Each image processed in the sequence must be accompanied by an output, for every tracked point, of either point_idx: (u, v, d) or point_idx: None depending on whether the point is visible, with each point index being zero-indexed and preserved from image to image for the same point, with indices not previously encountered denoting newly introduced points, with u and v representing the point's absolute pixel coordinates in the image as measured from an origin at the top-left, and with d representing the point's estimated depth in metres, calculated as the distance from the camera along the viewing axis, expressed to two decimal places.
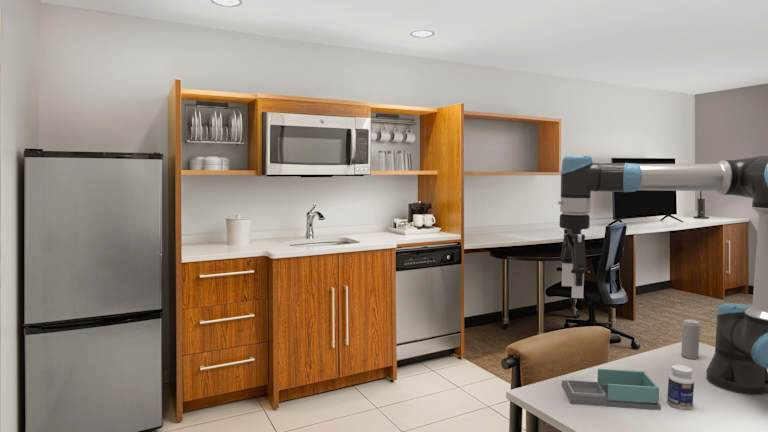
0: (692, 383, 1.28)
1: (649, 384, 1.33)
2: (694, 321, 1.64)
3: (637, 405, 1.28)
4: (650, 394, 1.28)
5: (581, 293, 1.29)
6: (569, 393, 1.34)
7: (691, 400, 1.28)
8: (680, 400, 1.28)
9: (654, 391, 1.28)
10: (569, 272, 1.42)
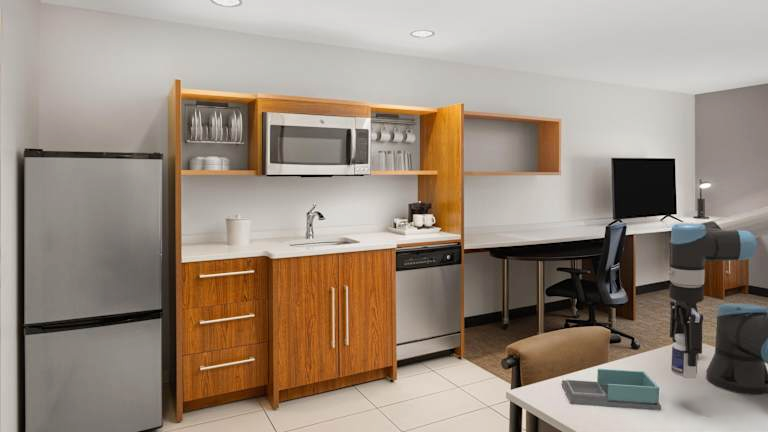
0: None
1: (649, 384, 1.33)
2: None
3: (637, 405, 1.28)
4: (650, 394, 1.28)
5: (694, 373, 1.26)
6: (569, 393, 1.34)
7: None
8: None
9: (654, 391, 1.28)
10: None
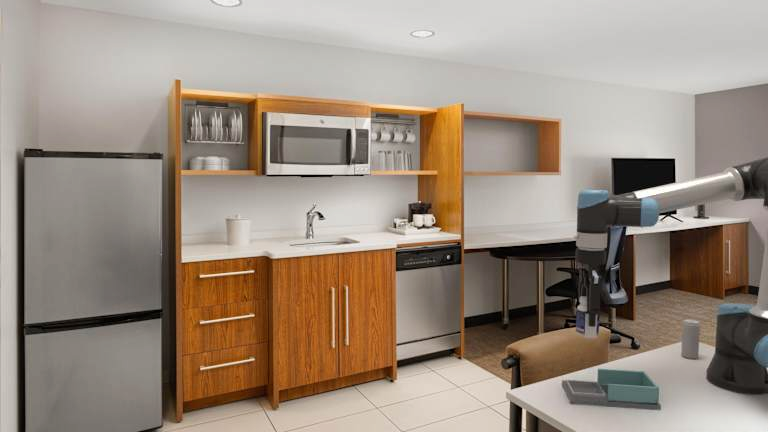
0: None
1: (649, 384, 1.33)
2: (694, 321, 1.64)
3: (637, 405, 1.28)
4: (650, 394, 1.28)
5: (594, 333, 1.31)
6: (569, 393, 1.34)
7: None
8: None
9: (654, 391, 1.28)
10: None
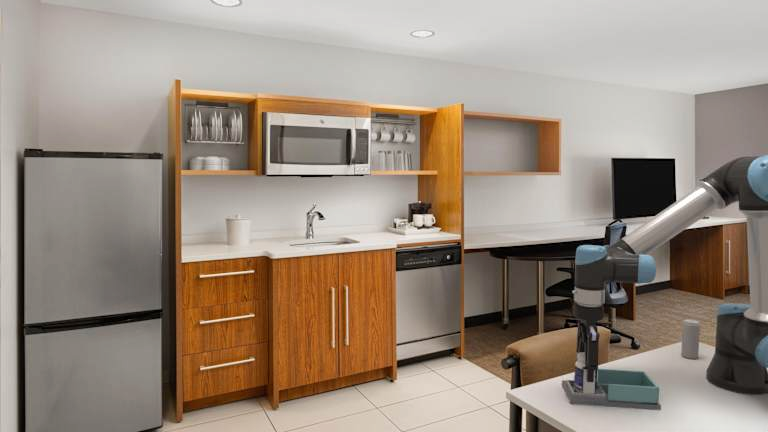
0: None
1: (649, 384, 1.33)
2: (694, 321, 1.64)
3: (637, 405, 1.28)
4: (650, 394, 1.28)
5: (592, 388, 1.32)
6: (569, 393, 1.34)
7: None
8: None
9: (654, 391, 1.28)
10: None
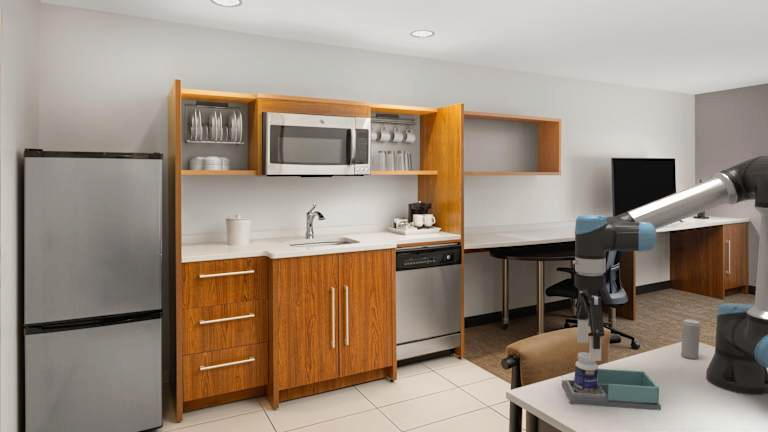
0: (595, 369, 1.33)
1: (649, 384, 1.33)
2: (694, 321, 1.64)
3: (637, 405, 1.28)
4: (650, 394, 1.28)
5: (599, 356, 1.28)
6: (569, 393, 1.34)
7: (594, 386, 1.33)
8: (584, 385, 1.33)
9: (654, 391, 1.28)
10: (585, 329, 1.41)
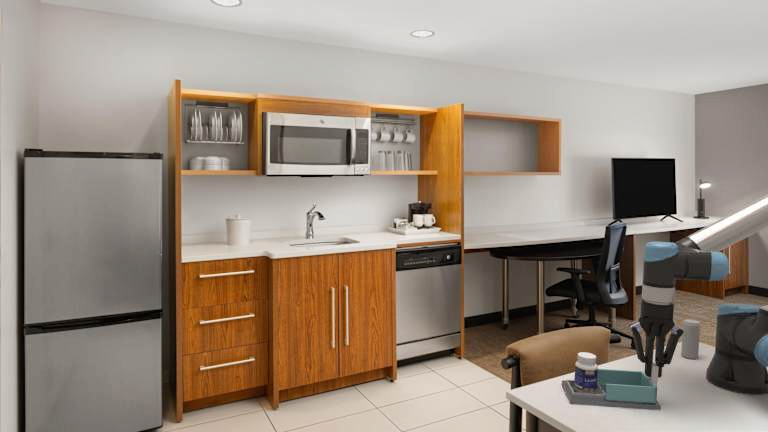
0: (595, 369, 1.33)
1: (647, 384, 1.33)
2: (694, 321, 1.64)
3: (637, 405, 1.28)
4: (648, 394, 1.28)
5: None
6: (569, 393, 1.34)
7: (594, 386, 1.33)
8: (584, 385, 1.33)
9: (652, 391, 1.28)
10: None
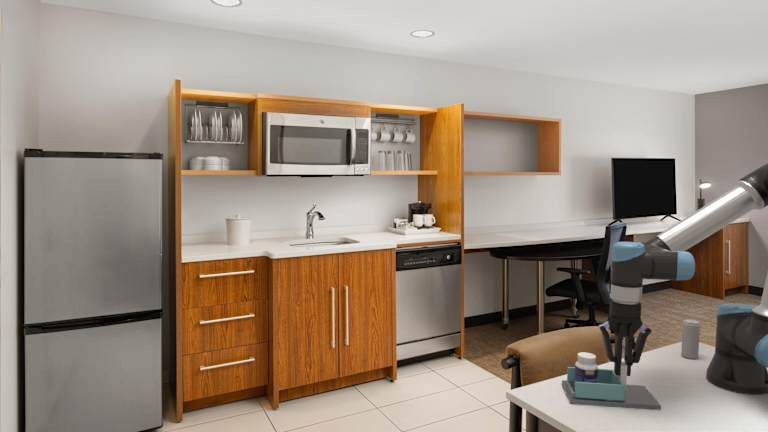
0: (595, 369, 1.33)
1: (617, 382, 1.34)
2: (694, 321, 1.64)
3: (637, 405, 1.28)
4: (616, 392, 1.29)
5: None
6: (569, 393, 1.34)
7: None
8: None
9: (620, 389, 1.29)
10: None
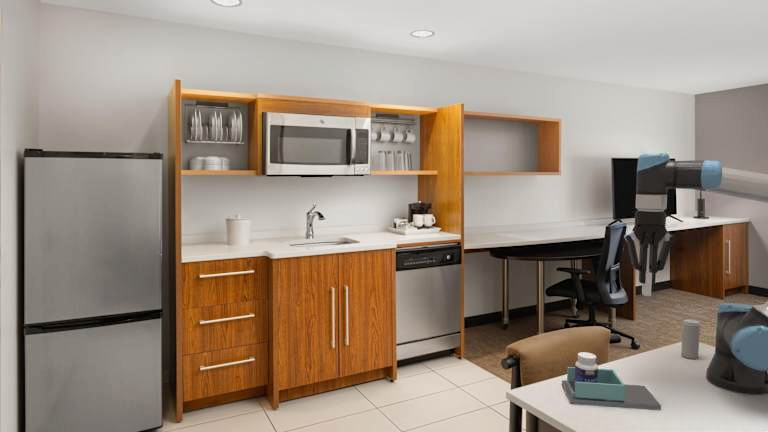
0: (595, 369, 1.33)
1: (617, 382, 1.34)
2: (694, 321, 1.64)
3: (637, 405, 1.28)
4: (616, 392, 1.29)
5: (644, 291, 1.38)
6: (569, 393, 1.34)
7: None
8: None
9: (620, 389, 1.29)
10: None
